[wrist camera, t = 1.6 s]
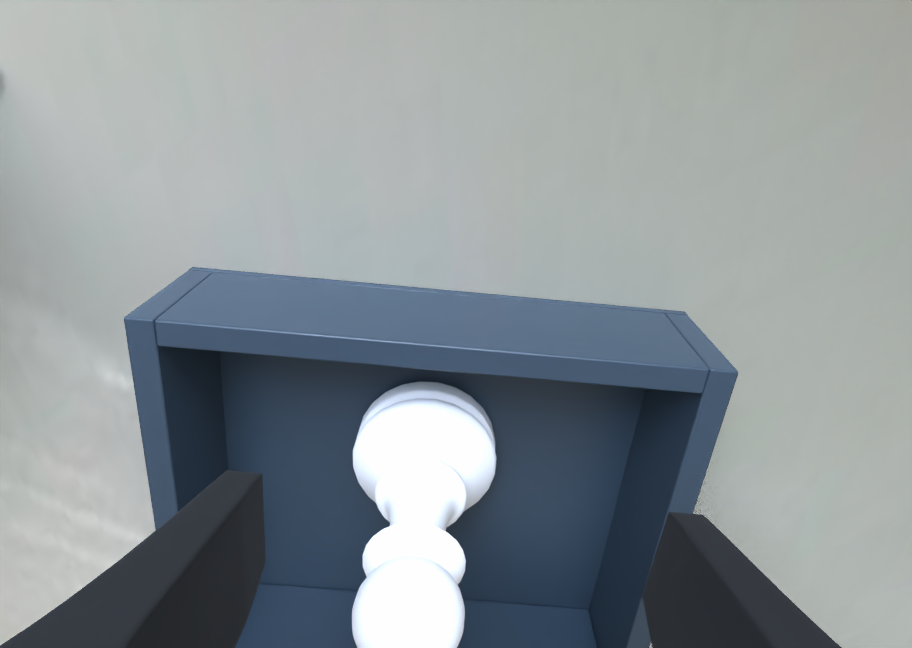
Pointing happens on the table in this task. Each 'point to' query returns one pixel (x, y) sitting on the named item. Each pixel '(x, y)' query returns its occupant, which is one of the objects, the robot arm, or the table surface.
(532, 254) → the table surface
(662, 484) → the crate
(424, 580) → the chess pawn
